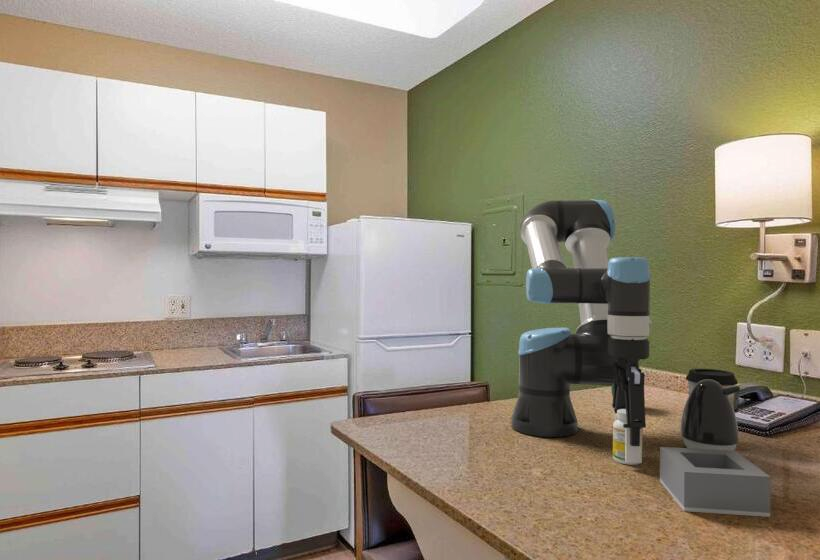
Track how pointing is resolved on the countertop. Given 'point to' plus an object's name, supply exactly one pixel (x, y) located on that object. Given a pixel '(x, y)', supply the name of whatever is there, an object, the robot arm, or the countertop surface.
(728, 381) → the coffee cup
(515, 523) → the countertop surface
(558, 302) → the robot arm
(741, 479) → the well
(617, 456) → the supplement bottle
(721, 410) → the pump dispenser
